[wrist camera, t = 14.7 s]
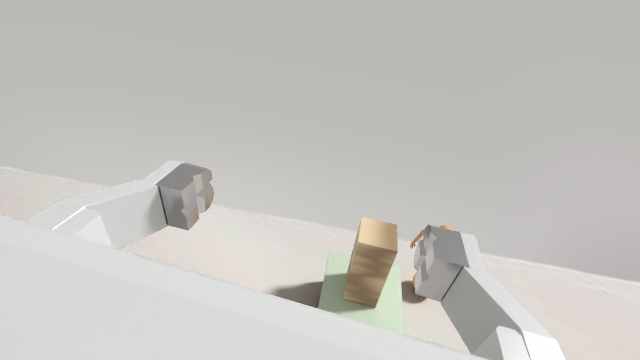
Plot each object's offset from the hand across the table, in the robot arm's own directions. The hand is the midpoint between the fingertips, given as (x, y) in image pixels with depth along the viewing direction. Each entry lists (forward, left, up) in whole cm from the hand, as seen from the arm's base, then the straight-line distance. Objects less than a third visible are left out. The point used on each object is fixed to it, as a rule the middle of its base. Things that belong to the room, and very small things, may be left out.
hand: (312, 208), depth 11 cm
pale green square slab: (+5, +15, -28) cm, 33 cm away
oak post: (+5, +15, -24) cm, 29 cm away
